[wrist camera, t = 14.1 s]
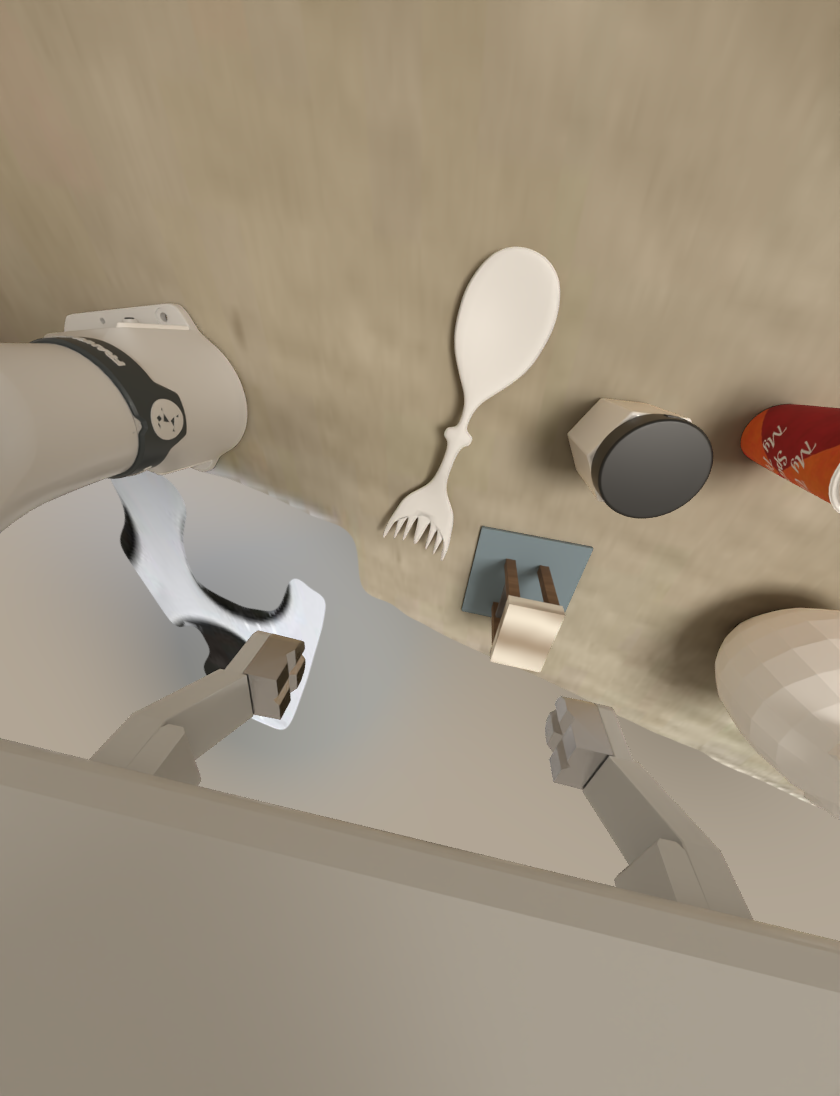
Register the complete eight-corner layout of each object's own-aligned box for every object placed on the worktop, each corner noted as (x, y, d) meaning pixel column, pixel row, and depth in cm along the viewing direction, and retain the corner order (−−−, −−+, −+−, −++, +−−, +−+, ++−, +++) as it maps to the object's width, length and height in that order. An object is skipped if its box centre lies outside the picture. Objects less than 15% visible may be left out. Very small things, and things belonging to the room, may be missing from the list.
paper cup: (712, 434, 36) (823, 476, 24) (799, 373, 33) (979, 388, 21) (751, 486, 38) (872, 550, 26) (837, 434, 35) (1023, 480, 23)
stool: (505, 556, 47) (509, 604, 38) (551, 565, 46) (565, 615, 38) (489, 608, 51) (490, 661, 43) (531, 617, 51) (540, 672, 42)
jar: (658, 462, 39) (720, 505, 28) (579, 488, 41) (610, 535, 31) (645, 379, 35) (710, 393, 25) (560, 413, 38) (587, 438, 27)
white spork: (385, 526, 48) (378, 538, 45) (485, 236, 32) (484, 225, 29) (446, 551, 49) (443, 564, 46) (576, 275, 32) (585, 268, 29)
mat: (461, 608, 53) (461, 610, 52) (482, 525, 46) (482, 527, 45) (556, 628, 52) (556, 630, 51) (592, 546, 45) (593, 548, 44)
